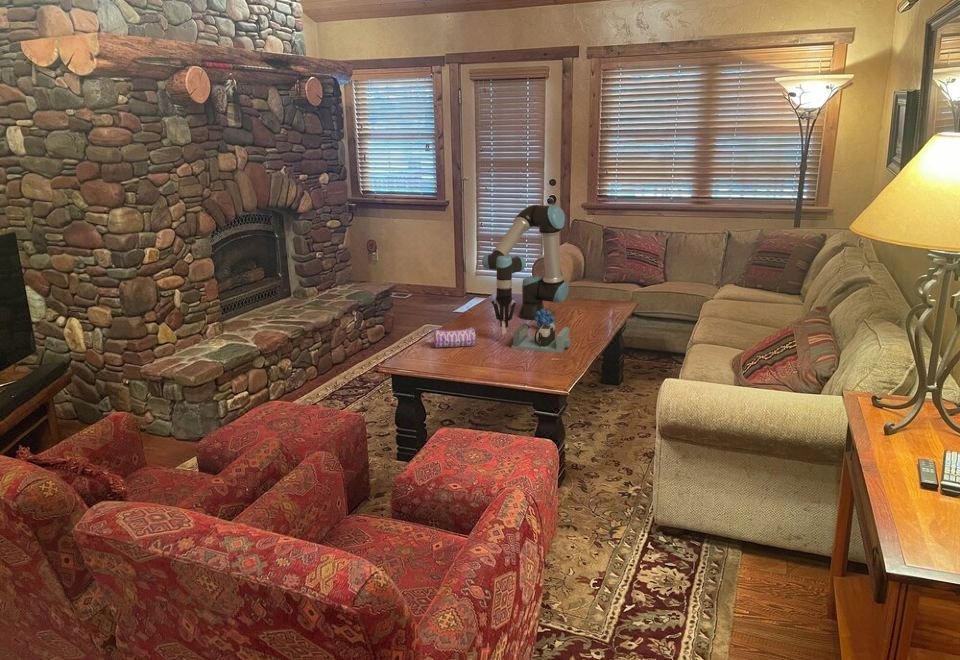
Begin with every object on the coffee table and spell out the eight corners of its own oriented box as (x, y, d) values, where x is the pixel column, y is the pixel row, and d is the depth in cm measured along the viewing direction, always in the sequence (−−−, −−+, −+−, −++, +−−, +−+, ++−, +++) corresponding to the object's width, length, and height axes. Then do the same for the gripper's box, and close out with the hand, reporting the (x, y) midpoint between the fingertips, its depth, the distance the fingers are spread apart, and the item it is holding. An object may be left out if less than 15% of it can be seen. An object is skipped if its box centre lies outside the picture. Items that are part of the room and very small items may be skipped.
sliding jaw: (526, 333, 365) (526, 320, 364) (531, 333, 364) (531, 320, 363) (513, 345, 346) (513, 332, 344) (519, 345, 345) (519, 332, 343)
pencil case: (475, 342, 358) (474, 324, 355) (479, 347, 349) (478, 329, 347) (432, 345, 353) (431, 327, 351) (434, 350, 345) (434, 332, 342)
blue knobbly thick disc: (531, 331, 374) (532, 309, 370) (535, 328, 380) (535, 306, 376) (553, 333, 370) (553, 311, 366) (556, 330, 376) (557, 308, 372)
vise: (521, 339, 361) (521, 323, 358) (572, 344, 352) (573, 327, 349) (511, 348, 346) (511, 331, 344) (565, 353, 337) (565, 336, 335)
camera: (540, 337, 358) (541, 318, 355) (557, 339, 355) (557, 320, 352) (531, 346, 344) (531, 326, 341) (548, 348, 341) (548, 328, 338)
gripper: (489, 288, 347) (489, 334, 353) (514, 290, 342) (514, 336, 349) (494, 285, 353) (494, 330, 360) (519, 286, 349) (518, 332, 356)
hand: (504, 333), depth 354 cm, fingers closed
